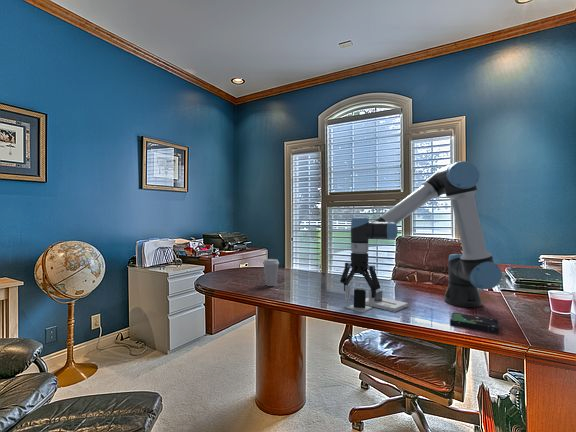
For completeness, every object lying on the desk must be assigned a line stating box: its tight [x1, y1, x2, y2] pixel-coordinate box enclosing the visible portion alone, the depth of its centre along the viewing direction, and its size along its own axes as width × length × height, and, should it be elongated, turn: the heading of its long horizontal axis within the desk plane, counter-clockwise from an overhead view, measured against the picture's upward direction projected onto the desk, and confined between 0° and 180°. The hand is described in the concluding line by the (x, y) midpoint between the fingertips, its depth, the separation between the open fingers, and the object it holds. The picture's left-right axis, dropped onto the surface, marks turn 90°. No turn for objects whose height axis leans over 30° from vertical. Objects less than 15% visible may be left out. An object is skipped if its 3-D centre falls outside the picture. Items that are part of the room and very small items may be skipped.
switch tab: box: [374, 289, 383, 301], centre depth 137 cm, size 4×5×4 cm
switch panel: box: [365, 296, 409, 313], centre depth 134 cm, size 17×12×2 cm
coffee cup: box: [262, 258, 280, 287], centre depth 171 cm, size 10×10×15 cm
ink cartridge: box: [353, 287, 367, 308], centre depth 129 cm, size 5×2×8 cm, turn 76°
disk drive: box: [449, 312, 500, 335], centre depth 109 cm, size 10×3×15 cm
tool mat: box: [345, 303, 373, 313], centre depth 129 cm, size 8×8×1 cm
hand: (359, 302), depth 129 cm, fingers open, 11 cm apart
